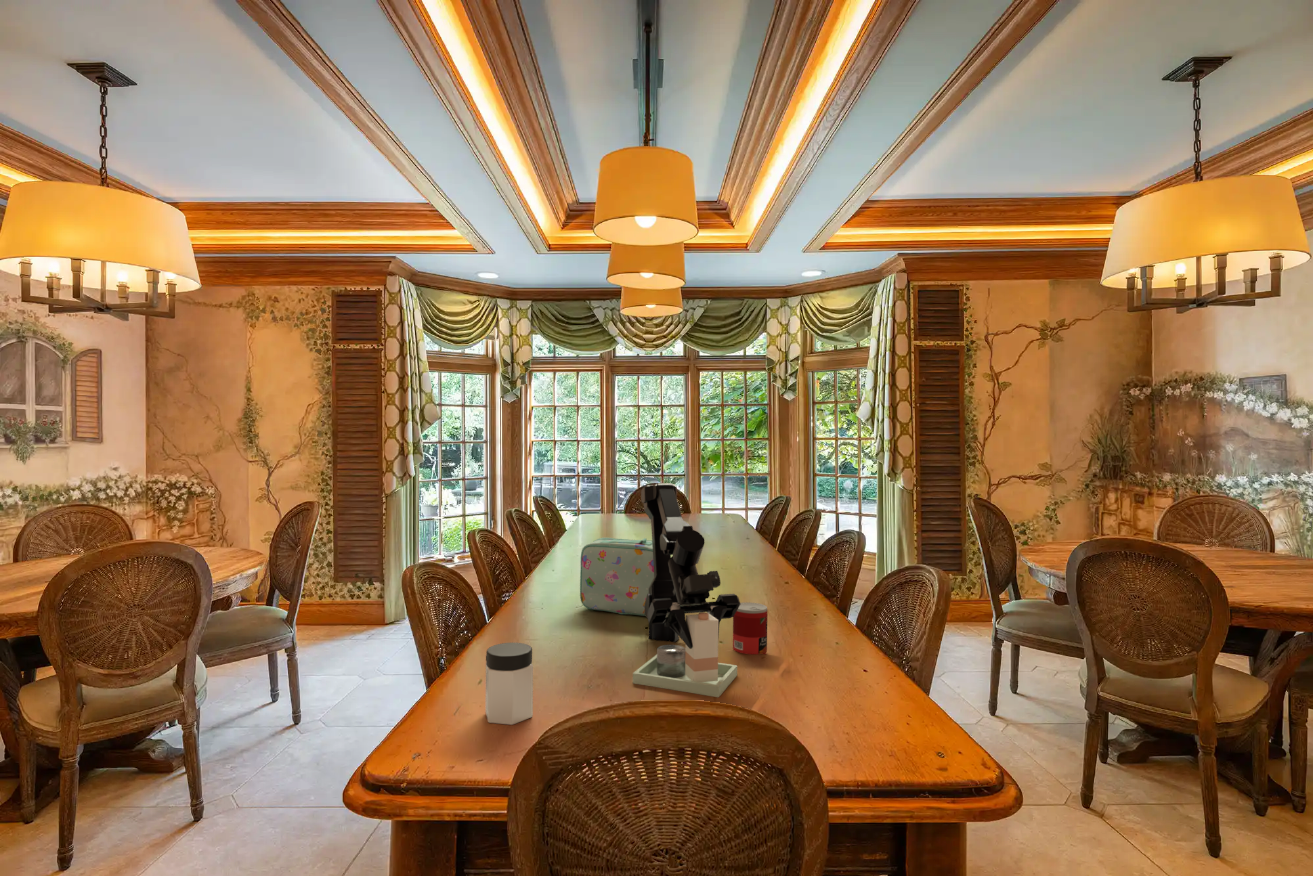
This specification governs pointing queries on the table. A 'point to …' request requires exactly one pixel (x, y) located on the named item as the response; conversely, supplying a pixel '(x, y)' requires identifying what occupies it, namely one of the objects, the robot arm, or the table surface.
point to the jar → (509, 683)
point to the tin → (671, 661)
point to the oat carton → (702, 648)
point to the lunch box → (616, 575)
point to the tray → (685, 679)
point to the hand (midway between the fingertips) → (704, 646)
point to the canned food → (750, 628)
